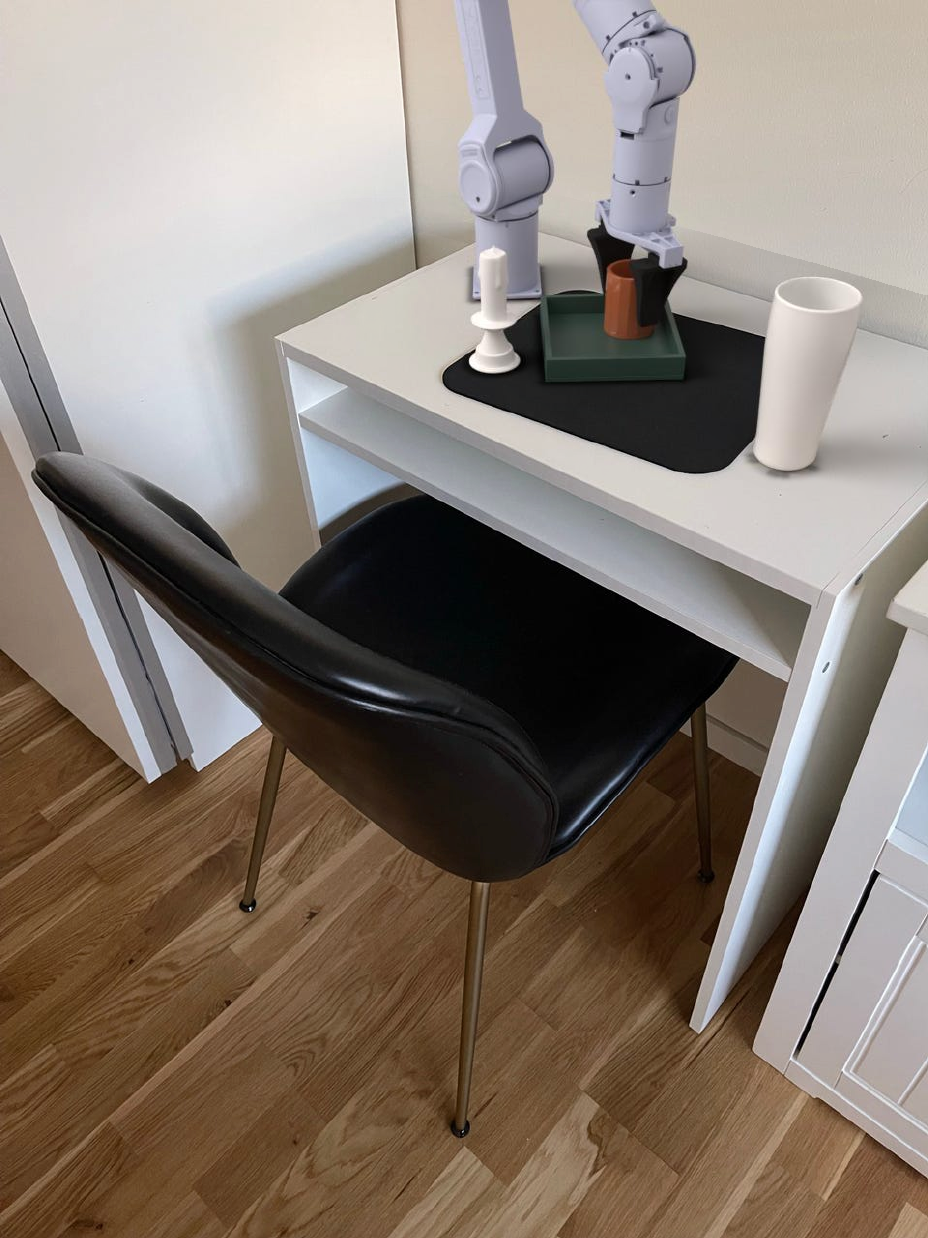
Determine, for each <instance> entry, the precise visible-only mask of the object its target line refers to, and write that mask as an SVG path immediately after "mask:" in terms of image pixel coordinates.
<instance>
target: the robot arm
mask: <svg viewBox="0 0 928 1238" xmlns="http://www.w3.org/2000/svg"><path fill="white" fill-rule="evenodd" d="M570 2H571V4H572V6H573V8H574V9H575V11H576V12H577V15H578V16H579V18H580V20H581V22H582V24H583V25H584V27H585V28H586V30H587V32H588V33H589V35H590V38H591V39H592V41H593V42H594V44H595V45H596V47H597V49H598V51H599V52H600V54H601V56H602V57H603V59H604V61H605V63H606V65H607V66H608V68H607V70H604V72H603V77H604V78H603V79H604V80H603V81H604V86H605V89H606V93H607V96H608V99H609V100H610V103H611V107H612V116H611V120H612V121H611V122H613V123H614V124H613V126H614V140H613V141H614V142H613V156H612V157H613V158H612V170H611V185H610V187H611V188H610V198H608V199H601V200H597V201H595V210H594V211H595V212H594V220H595V221H596V222H598V223H600V224H598V227H593V228H590V229H588V230H587V231H586V237H587V239H588V241H589V243H590V245H591V248H592V251H593V253H594V256H595V260H596V263H597V264H596V265H597V268H598V273H599V278H600V285H601V290H602V294H603V295H604V297H605V293H606V278H607V268H608V266H609V265H610V264H612V263H614V262H616V261H619V260H625V259H632V257H633V253H634V250H635V247H636V246H638V247H640V248H641V249H643V250H644V251H646V252H647V257H641V258H635V259H636V260H631V261H629V267H630V269H631V272H632V275H633V278H634V282H635V288H636V316H637V323H638V325H639V326H640V327H647V326H652V325H656V324H658V322H659V320H660V317H661V314H662V312H663V309H664V306H665V304H666V301H667V299H668V300H669V296H670V294H671V292H672V290H673V288H674V287H675V285H676V283H677V282H678V280H679V279H680V277H681V276H682V275H683V274H684V272H685V271H686V270H687V269H688V259H687V258H686V257H684V250H685V249H684V248H685V245H684V244H682V243H681V242H680V241H679V240H678V238H677V236H676V235H675V232H674V229H673V228H672V227H675V226H676V223H677V218H676V217H675V216H674V215H672V214H671V213H669V204H670V194H671V185H672V176H673V167H674V166H673V165H674V157H675V150H676V149H675V147H676V138H677V129H678V118H679V111H680V110H679V109H680V99H681V97H680V96H681V95H683V94H685V93H686V92H687V91H688V89H690V87H691V85H692V83H693V81H694V79H695V75H696V69H697V57H696V52H695V48H694V46H693V44H692V41H691V37H690V34H689V33H688V32H687V31H686V30H684V29H683V28H681V27H678V26H676V25H670V23H668V21H667V20H666V18H664V17H663V15H662V14H661V12H658V11H657V9H656V7H655V5H654V3H653V2H652V1H651V0H570ZM452 3H453V8H454V14H455V19H456V25H457V26H456V27H457V32H458V38H459V43H460V49H461V55H462V60H463V65H464V72H465V78H466V79H465V80H466V85H467V89H468V90H467V91H468V95H469V101H470V107H471V114H472V120H471V122H470V124H469V126H468V127H467V129H466V130H465V132H464V134H463V135H462V137H461V138H460V140H459V142H458V144H457V151H458V156H459V168H458V177H457V179H458V189H459V192H460V196H461V198H462V200H463V201H464V204H465V205H466V207H467V208H468V209H469V213H470V214H472V215H474V237H475V264H474V265H473V276H472V277H473V278H472V279H473V281H472V298H473V299H474V300H481V281H480V279H479V277H478V272H479V258H480V253H481V252H483V251H485V250H488V249H491V248H493V245H494V246H495V248H498V249H500V250H502V251H504V252H506V254H507V271H508V278H509V282H508V285H507V300H508V299H509V300H511V299H513V300H514V299H541V295H543V290H542V289H543V288H542V278H541V268H540V262H539V216H540V215H539V213H540V210H539V208H540V206H542V205H543V204H544V203H543V202H544V194H546V193H547V192H548V191H549V190H550V188H551V186H552V185H553V182H554V177H555V164H554V163H555V162H554V159H553V155H552V153H551V151H550V149H549V147H548V145H547V142H546V140H545V136H544V130H543V125H542V123H541V122H540V120H538V119H537V118H536V117H535V116H533V115H532V114H531V113H529V112H528V110H527V109H525V108H524V102H523V95H522V88H521V81H520V74H519V69H518V61H517V54H516V47H515V39H514V34H513V27H512V19H511V14H510V7H509V0H452Z"/></svg>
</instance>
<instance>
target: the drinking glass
mask: <svg viewBox="0 0 928 1238" xmlns="http://www.w3.org/2000/svg"><path fill="white" fill-rule="evenodd" d="M863 301H864V297H863V293H862V292H861V291H860V290H859V289H858V288H856V287H855V286H853V285H852V284H850V283H848V282H845V281H842V280H838V279H835V278H830V277H823V276H800V277H794V278H791V279H787V280H785V281H783V282H781V283H779V285H777V286H776V288H775V290H774V293H773V298H772V302H771V306H770V309H769V310H770V311H769V315H768V319H767V324H766V332H765V340H764V346H763V355H762V365H761V366H762V367H761V379H760V387H759V389H760V390H759V401H758V408H757V420H756V430H755V435H754V440H753V446H752V447H753V448H752V451H753V455H754V457H755V459H757V460H758V462H759V463H761V464H762V465H764V466H766V467H767V468H770V469H773V470H777V471H784V472H792V471H799V470H803V469H805V468H807V467H809V466H810V465H811V464H812V463H813V462H814V461H815V459H816V456H817V453H818V449H819V444H820V441H821V438H822V435H823V432H824V429H825V426H826V423H827V420H828V418H829V414H830V411H831V408H832V406H833V403H834V400H835V397H836V394H837V391H838V389H839V386H840V383H841V381H842V377H843V375H844V371H845V369H846V366H847V363H848V360H849V358H850V354H851V351H852V348H853V345H854V341H855V338H856V333H857V330H858V325H859V321H860V316H861V310H862V305H863Z"/></svg>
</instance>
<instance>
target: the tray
mask: <svg viewBox="0 0 928 1238" xmlns="http://www.w3.org/2000/svg"><path fill="white" fill-rule="evenodd" d="M604 308H605V297H604V295H603V293H574V294H570V293H568V294H567V293H566V294H542V295H541V297H540V312H539V314H540V316H539V317H540V327H541V339H542V341H541V342H542V351H543V363H544V376H545V383H582V382H583V383H584V382H586V383H588V382H590V383H591V382H632V381H675V380H676V381H680V380H684V377H685V376H684V375H685V369H686V361H687V355H686V351H685V349H684V347H683V346H684V345H683V343H682V339H681V336H680V334H679V330H678V327H677V324H676V320H675V318H674V314H673V311H672V308H671V305H670V302H669V298H668V299H667V301H666V304H665V306H664V309H663V312H662V314H661V317H660V320H659V322H658V324H656V325H655V326H654V331H653V333H652V334H651V335H649V336H647V337H645V338H641V339H634V340H626V339H619V338H615V337H612V336H610V335H608V334H607V333H606V332H605V331H604Z"/></svg>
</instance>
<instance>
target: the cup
mask: <svg viewBox="0 0 928 1238" xmlns="http://www.w3.org/2000/svg"><path fill="white" fill-rule="evenodd" d="M636 259H637V258H631V259H625V260H619V261H616V262H614V263H612V264H610V265H609V266H608V268H607V278H606V293H605V308H604V331H605V332H606V333H607V334H608V335H610V336H612V337H615V338H619V339H626V340H634V339H641V338H645V337H647V336H649V335H651V334H652V333H653V331H654V326H655V325H652V326H647V327H640V326H639V325H638V323H637V316H636V288H635V282H634V278H633V275H632V272H631V269H630V267H629V261H631V260H636Z"/></svg>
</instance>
